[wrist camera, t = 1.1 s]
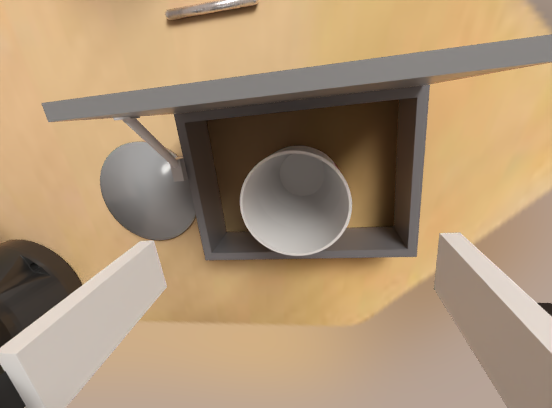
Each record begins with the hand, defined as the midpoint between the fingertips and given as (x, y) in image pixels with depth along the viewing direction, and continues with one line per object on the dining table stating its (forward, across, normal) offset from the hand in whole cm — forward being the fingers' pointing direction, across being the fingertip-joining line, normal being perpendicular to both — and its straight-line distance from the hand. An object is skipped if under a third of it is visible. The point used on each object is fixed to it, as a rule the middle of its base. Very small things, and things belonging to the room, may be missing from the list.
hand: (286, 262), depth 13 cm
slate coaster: (+17, -18, -1) cm, 25 cm away
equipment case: (+17, 0, 0) cm, 17 cm away
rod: (+17, -7, +16) cm, 25 cm away
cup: (+18, 0, 0) cm, 18 cm away
